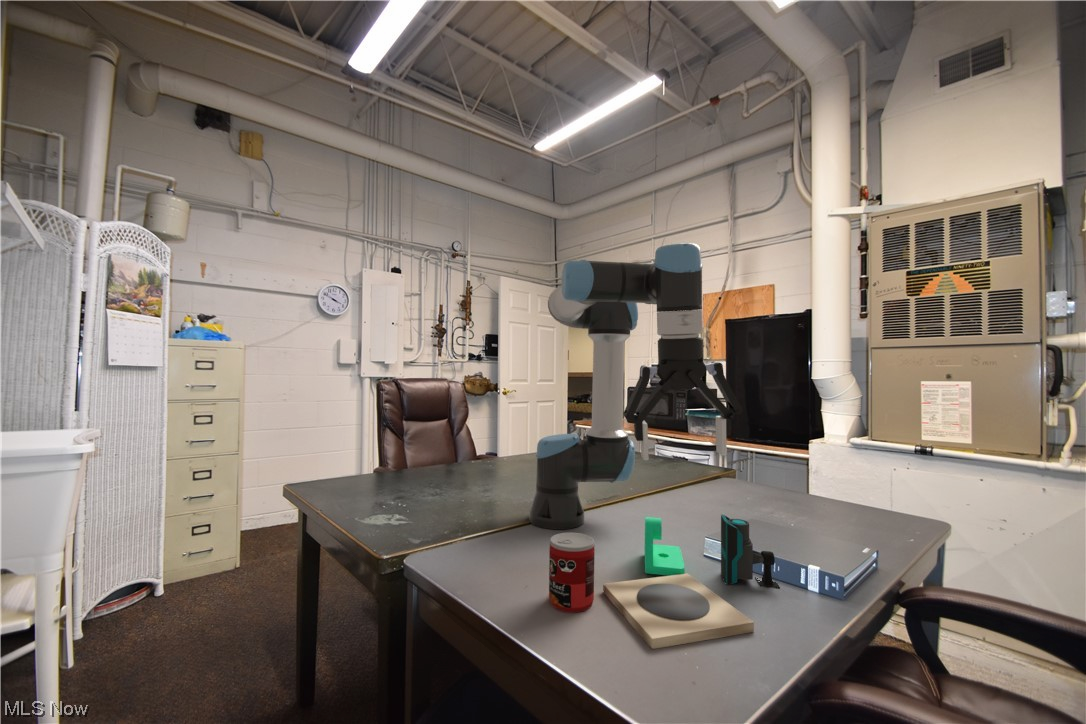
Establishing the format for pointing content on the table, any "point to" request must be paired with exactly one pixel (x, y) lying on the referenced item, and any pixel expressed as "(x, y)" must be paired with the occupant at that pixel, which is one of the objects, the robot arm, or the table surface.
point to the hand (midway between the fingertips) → (683, 456)
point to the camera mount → (660, 552)
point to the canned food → (571, 571)
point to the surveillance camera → (742, 554)
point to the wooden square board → (675, 610)
